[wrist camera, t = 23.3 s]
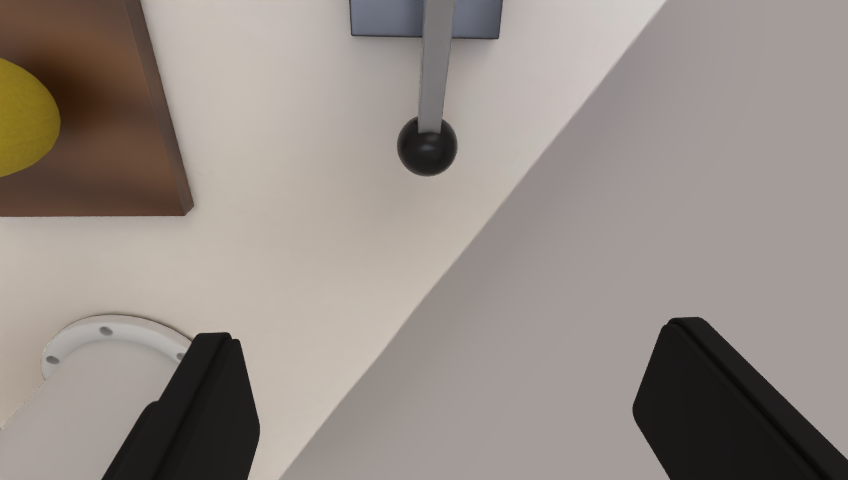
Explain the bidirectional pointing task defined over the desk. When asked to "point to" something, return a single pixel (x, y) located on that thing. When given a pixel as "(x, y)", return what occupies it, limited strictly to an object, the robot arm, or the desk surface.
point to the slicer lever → (431, 97)
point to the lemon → (24, 119)
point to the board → (94, 113)
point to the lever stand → (403, 17)
